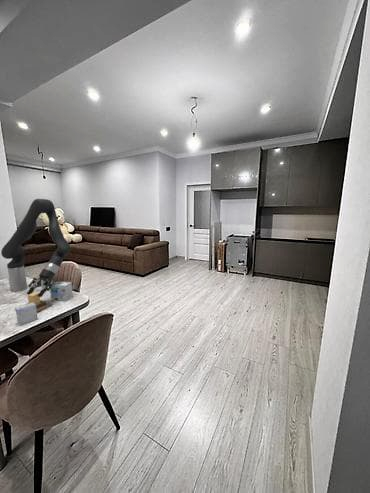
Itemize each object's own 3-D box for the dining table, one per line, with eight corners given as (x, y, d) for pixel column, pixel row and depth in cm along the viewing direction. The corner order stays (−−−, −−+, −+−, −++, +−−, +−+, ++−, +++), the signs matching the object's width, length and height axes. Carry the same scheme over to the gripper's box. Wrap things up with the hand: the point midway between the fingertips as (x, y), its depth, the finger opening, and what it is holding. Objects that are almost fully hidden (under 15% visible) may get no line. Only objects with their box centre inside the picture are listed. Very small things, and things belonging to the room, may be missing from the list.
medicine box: (35, 316, 110) (33, 302, 108) (38, 319, 107) (35, 304, 106) (17, 322, 104) (14, 307, 102) (19, 325, 101) (17, 310, 100)
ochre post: (29, 307, 117) (27, 295, 116) (35, 304, 121) (34, 292, 119) (34, 308, 116) (32, 296, 114) (41, 305, 120) (39, 293, 118)
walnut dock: (17, 312, 114) (16, 306, 114) (37, 302, 126) (36, 297, 125) (33, 315, 111) (32, 309, 111) (52, 305, 123) (51, 300, 122)
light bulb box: (51, 300, 129) (49, 285, 127) (57, 296, 135) (56, 281, 133) (67, 301, 128) (65, 285, 126) (73, 296, 135) (71, 281, 133)
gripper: (36, 267, 125) (19, 291, 116) (54, 269, 121) (38, 294, 112) (45, 273, 131) (29, 296, 122) (62, 275, 127) (47, 299, 118)
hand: (33, 295), depth 117 cm, fingers open, 8 cm apart
